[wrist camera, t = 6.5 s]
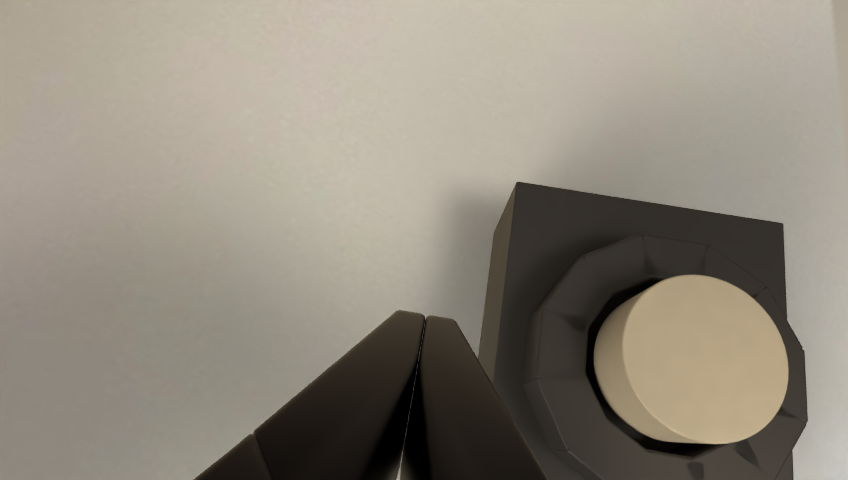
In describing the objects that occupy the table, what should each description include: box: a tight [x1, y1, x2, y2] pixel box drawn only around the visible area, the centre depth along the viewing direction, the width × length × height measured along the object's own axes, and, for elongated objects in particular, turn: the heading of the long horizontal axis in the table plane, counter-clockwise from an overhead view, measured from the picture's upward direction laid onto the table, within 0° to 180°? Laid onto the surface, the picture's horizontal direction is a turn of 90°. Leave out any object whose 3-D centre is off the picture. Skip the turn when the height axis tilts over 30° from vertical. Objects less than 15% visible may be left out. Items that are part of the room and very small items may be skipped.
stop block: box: [478, 182, 808, 480], centre depth 17 cm, size 10×8×6 cm
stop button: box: [594, 275, 789, 444], centre depth 13 cm, size 4×4×2 cm
